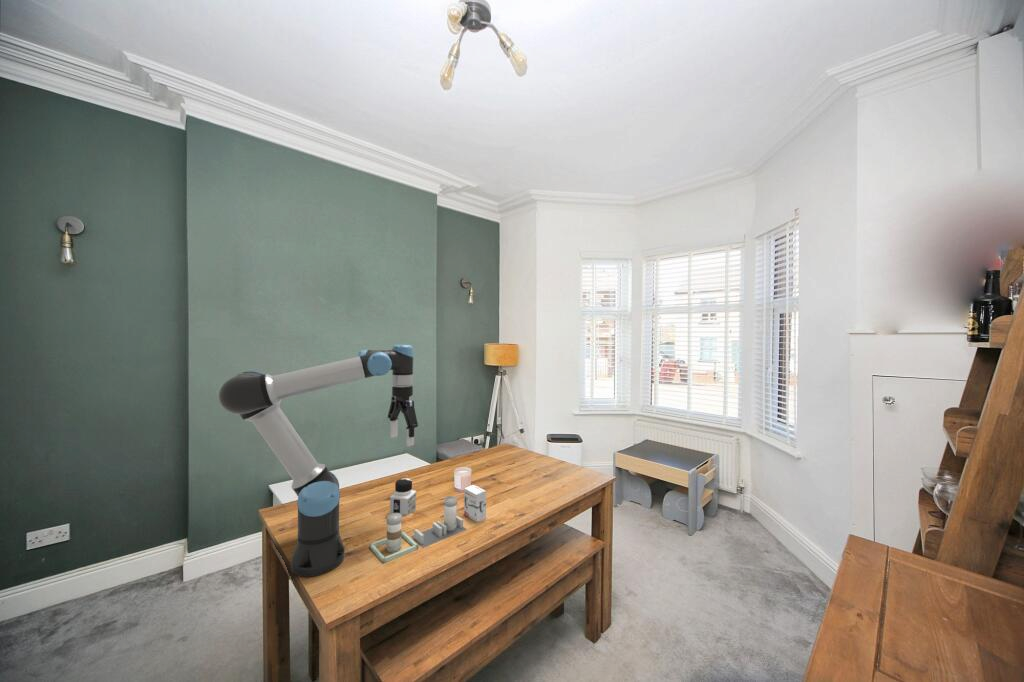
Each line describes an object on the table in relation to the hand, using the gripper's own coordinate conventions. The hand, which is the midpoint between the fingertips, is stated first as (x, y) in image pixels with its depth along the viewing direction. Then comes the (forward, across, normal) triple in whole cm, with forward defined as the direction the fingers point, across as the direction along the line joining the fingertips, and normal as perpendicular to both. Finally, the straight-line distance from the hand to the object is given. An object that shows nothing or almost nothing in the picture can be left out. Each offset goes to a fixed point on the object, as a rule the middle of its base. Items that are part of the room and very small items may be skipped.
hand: (401, 441), depth 140 cm
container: (+32, +8, -5) cm, 33 cm away
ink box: (+32, -15, -24) cm, 43 cm away
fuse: (+31, -16, -12) cm, 37 cm away
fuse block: (+32, -16, -7) cm, 36 cm away
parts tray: (+32, -15, +10) cm, 36 cm away
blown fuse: (+31, -15, +10) cm, 36 cm away
